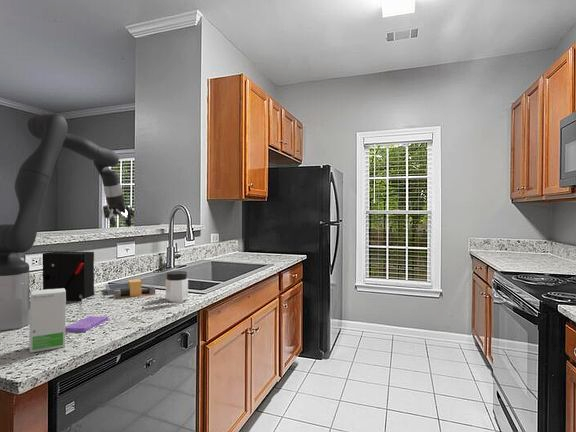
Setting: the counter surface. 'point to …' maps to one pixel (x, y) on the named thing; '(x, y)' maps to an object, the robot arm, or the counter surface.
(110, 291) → the tray
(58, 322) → the skincare box
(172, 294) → the jar
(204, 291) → the counter surface
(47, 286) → the electrical component
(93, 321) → the sponges
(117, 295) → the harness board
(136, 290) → the orange block
